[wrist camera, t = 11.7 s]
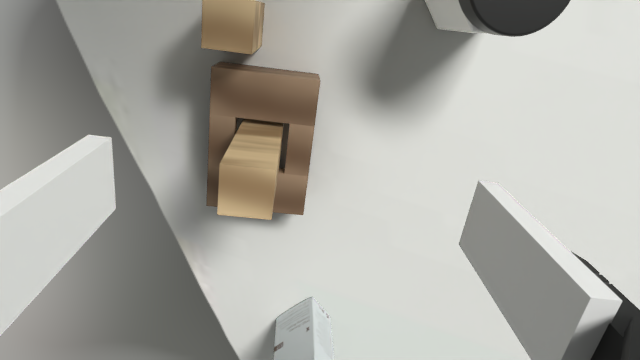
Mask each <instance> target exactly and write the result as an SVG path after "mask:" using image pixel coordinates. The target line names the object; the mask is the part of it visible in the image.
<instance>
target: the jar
mask: <svg viewBox="0 0 640 360" xmlns="http://www.w3.org/2000/svg"><path fill="white" fill-rule="evenodd" d="M425 2H426V4H427V7H428V9H429V11H430V14H431V16H432V18H433V21H434V23H435V25H436V28H437V29H441V30H450V31H459V32H468V33H489V34H494V35H502V36H514V37H515V36H524V35H528V34H531V33H534V32H537V31H539V30H541V29H542V28H544V27H546V26H547V25H549V24H550V23H551V22H553V21H554V20H555V19H556V18H557V17H558V16H559V15H560V14H561V13H562V12H563V10H564V9H565V8H566V6H567V5H568V3H569V2H570V0H425Z"/></svg>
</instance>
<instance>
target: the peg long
mask: <svg viewBox="0 0 640 360" xmlns="http://www.w3.org/2000/svg"><path fill="white" fill-rule="evenodd" d="M283 125H284V123H280V122H271V121H263V120H254V119H245V118H244V119H243V121H242V123H241V125H240V127H239V129H238V131H237V132H236V134H235V136H234V138H233V140H232V142H231V144H230V145H229V147H228V149H227V151H226V153H225V155H224V157H223V158H222V160H221V162H220V165H219V188H218V210H217V215H226V216H236V217H247V218H257V219H268V220H272V212H273V205H274V198H275V191H276V184H277V177H278V169H279V162H280V155H281V145H282V135H283Z"/></svg>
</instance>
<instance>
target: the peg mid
mask: <svg viewBox="0 0 640 360" xmlns="http://www.w3.org/2000/svg"><path fill="white" fill-rule="evenodd" d="M264 5H265V3H262V2H258V1H254V0H202V38H201V48H206V49H214V50H222V51H229V52H237V53H245V54H253V53H254V52H255V51H256V50H258V49H259V48H260V47H261V45H262V32H263V18H264Z"/></svg>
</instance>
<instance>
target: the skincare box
mask: <svg viewBox="0 0 640 360" xmlns="http://www.w3.org/2000/svg"><path fill="white" fill-rule="evenodd" d="M273 360H335V359H334V349H333V338H332V328H331V317H330V315H329V314H328V313H327V312H326V311H325V309H324V308H323V307H322V306H321V305H320V304H319V303H318V302H317V301H316V300H315V298H314V297H310V298H308V299H306V300H304V301H303V302H301V303H299V304H297V305H296V306H294V307H292V308H291V309H289V310H288V311H286V312H285V313H283V314H282V315H280V316H279V317H278V318H277V319H276V329H275V342H274V357H273Z"/></svg>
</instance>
